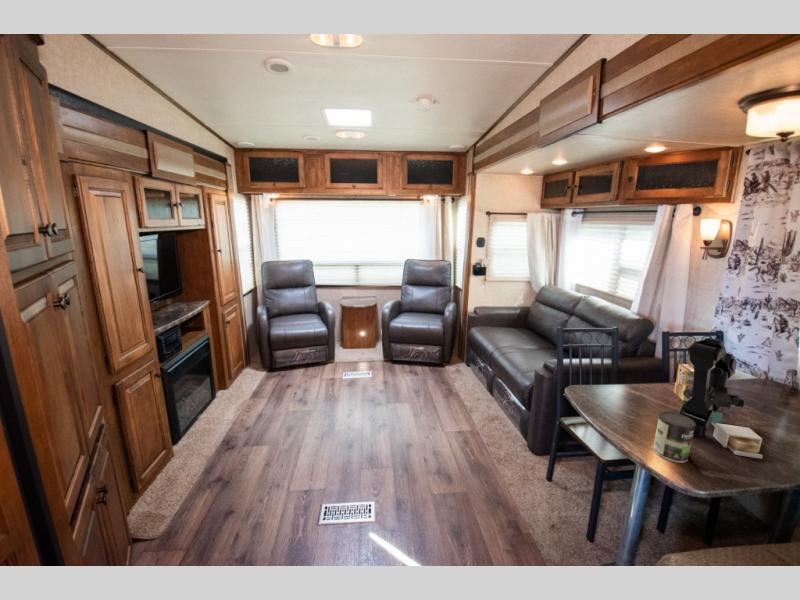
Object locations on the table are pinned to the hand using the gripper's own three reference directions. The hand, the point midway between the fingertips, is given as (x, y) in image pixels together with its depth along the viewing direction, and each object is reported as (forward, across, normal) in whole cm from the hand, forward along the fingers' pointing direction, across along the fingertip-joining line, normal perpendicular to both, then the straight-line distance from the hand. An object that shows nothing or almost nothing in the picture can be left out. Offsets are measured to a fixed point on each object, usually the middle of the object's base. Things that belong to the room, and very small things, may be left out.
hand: (708, 416), depth 144 cm
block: (+1, 0, -21) cm, 21 cm away
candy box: (+3, 0, +22) cm, 22 cm away
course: (+2, 0, -18) cm, 18 cm away
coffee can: (+3, -25, -29) cm, 38 cm away
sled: (+2, 0, -13) cm, 14 cm away
